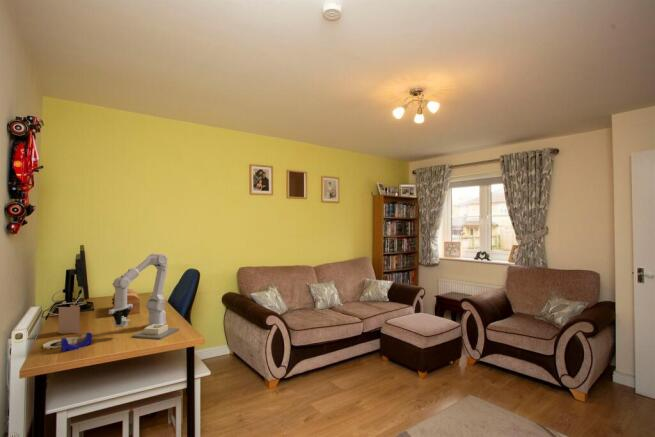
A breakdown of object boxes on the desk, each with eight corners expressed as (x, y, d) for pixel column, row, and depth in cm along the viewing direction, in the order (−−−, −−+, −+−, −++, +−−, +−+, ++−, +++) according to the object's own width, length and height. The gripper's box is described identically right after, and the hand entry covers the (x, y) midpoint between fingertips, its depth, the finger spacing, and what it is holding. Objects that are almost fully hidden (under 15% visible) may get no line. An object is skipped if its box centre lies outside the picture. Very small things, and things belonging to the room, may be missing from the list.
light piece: (91, 336, 176) (42, 345, 163) (91, 342, 176) (42, 351, 163) (90, 330, 185) (43, 339, 173) (90, 336, 185) (43, 345, 173)
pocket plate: (152, 328, 198) (152, 321, 198) (179, 330, 194) (179, 323, 194) (131, 337, 182) (131, 330, 182) (160, 339, 179) (160, 331, 179)
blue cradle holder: (63, 352, 161) (63, 340, 161) (61, 350, 164) (61, 338, 164) (92, 345, 170) (92, 334, 170) (89, 343, 173) (89, 332, 173)
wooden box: (111, 307, 248) (111, 289, 249) (136, 304, 258) (136, 287, 258) (111, 317, 223) (112, 296, 224) (139, 313, 233) (140, 293, 233)
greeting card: (81, 332, 191) (81, 306, 191) (65, 336, 184) (66, 309, 185) (72, 329, 197) (72, 304, 197) (56, 332, 190) (57, 306, 190)
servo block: (116, 324, 186) (116, 315, 186) (130, 325, 184) (130, 315, 184) (111, 326, 183) (111, 316, 183) (125, 327, 181) (125, 317, 181)
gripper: (125, 296, 192) (125, 319, 192) (103, 301, 178) (103, 327, 177) (135, 296, 190) (135, 320, 190) (115, 302, 176) (114, 327, 176)
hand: (121, 323), depth 184 cm, fingers closed on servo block, 3 cm apart
